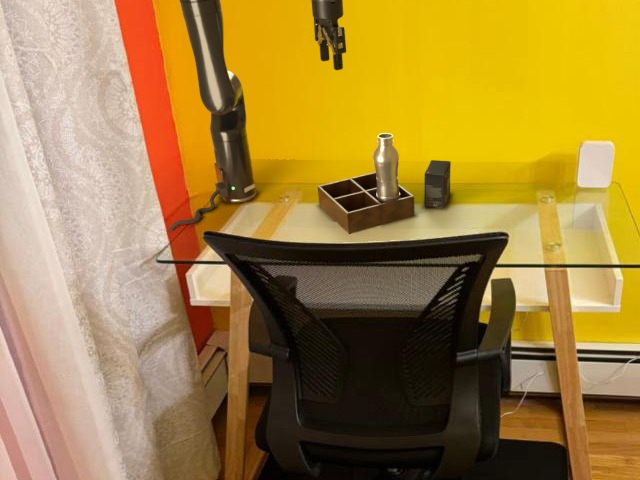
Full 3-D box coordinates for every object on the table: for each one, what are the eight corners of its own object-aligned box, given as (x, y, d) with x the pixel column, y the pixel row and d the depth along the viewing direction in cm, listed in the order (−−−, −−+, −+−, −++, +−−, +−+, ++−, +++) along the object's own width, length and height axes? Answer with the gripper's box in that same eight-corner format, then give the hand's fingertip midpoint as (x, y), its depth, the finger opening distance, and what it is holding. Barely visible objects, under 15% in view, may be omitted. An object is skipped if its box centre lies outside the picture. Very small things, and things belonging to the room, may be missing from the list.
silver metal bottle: (399, 216, 202) (396, 141, 190) (373, 215, 203) (368, 140, 191) (404, 205, 207) (401, 131, 195) (379, 204, 208) (374, 130, 196)
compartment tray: (348, 233, 197) (347, 213, 193) (319, 205, 210) (317, 186, 207) (414, 216, 203) (414, 196, 200) (382, 189, 217) (381, 170, 213)
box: (444, 209, 206) (444, 175, 200) (423, 207, 207) (423, 173, 202) (450, 193, 213) (451, 160, 208) (430, 192, 214) (430, 159, 209)
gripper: (301, -8, 193) (307, 60, 203) (323, 4, 183) (329, 75, 193) (329, -12, 196) (334, 55, 205) (353, 0, 185) (356, 70, 195)
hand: (331, 65), depth 199 cm, fingers open, 8 cm apart
